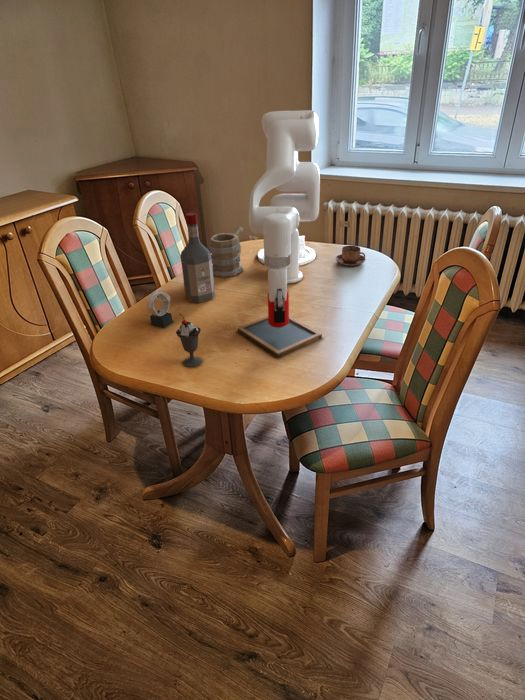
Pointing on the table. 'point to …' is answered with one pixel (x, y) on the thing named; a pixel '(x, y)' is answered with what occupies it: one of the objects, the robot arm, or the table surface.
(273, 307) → the beverage can
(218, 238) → the tankard
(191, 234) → the liquor
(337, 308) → the table surface
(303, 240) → the dish
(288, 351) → the chalkboard
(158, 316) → the ring sculpture on stand
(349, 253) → the cup and saucer
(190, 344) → the sundae
